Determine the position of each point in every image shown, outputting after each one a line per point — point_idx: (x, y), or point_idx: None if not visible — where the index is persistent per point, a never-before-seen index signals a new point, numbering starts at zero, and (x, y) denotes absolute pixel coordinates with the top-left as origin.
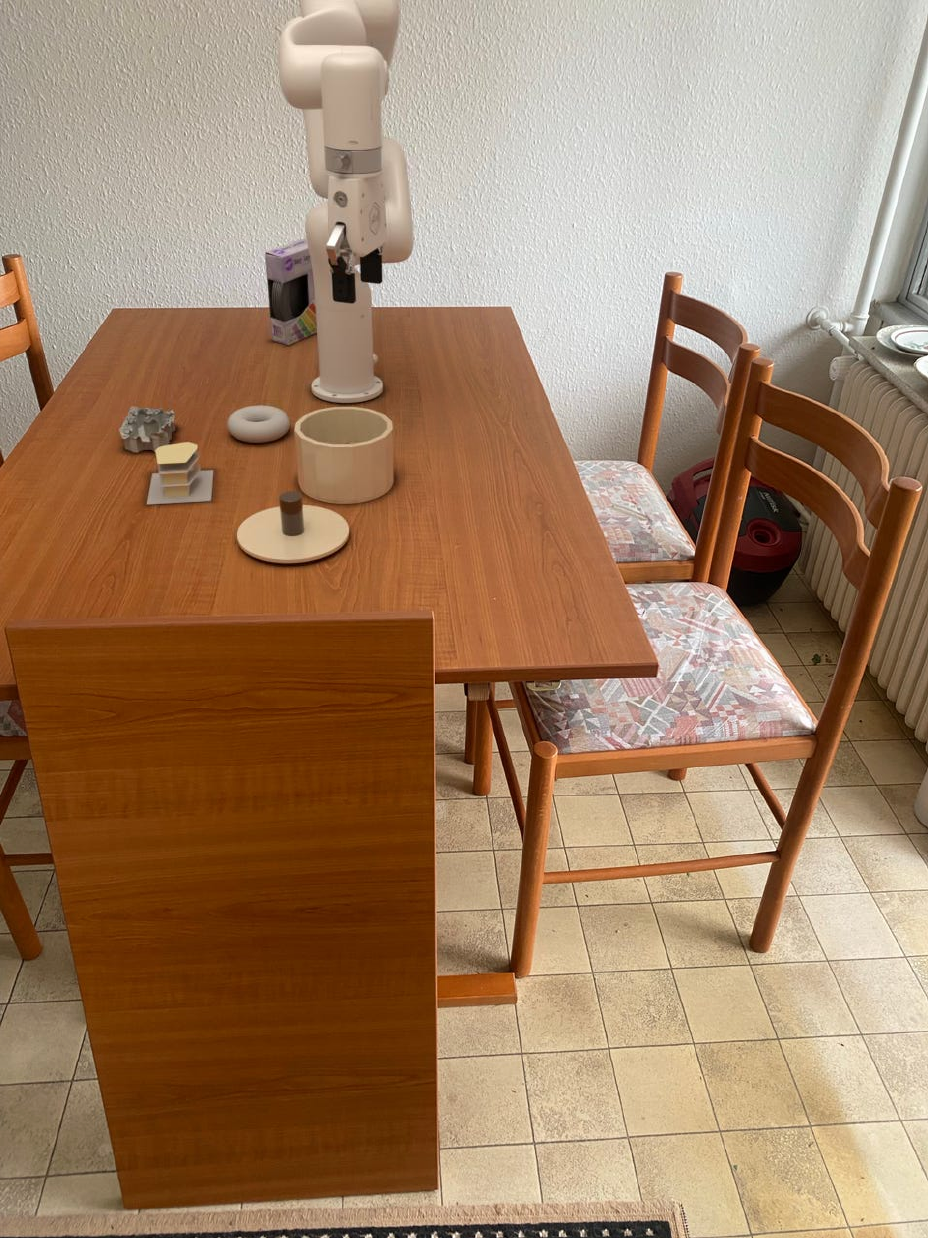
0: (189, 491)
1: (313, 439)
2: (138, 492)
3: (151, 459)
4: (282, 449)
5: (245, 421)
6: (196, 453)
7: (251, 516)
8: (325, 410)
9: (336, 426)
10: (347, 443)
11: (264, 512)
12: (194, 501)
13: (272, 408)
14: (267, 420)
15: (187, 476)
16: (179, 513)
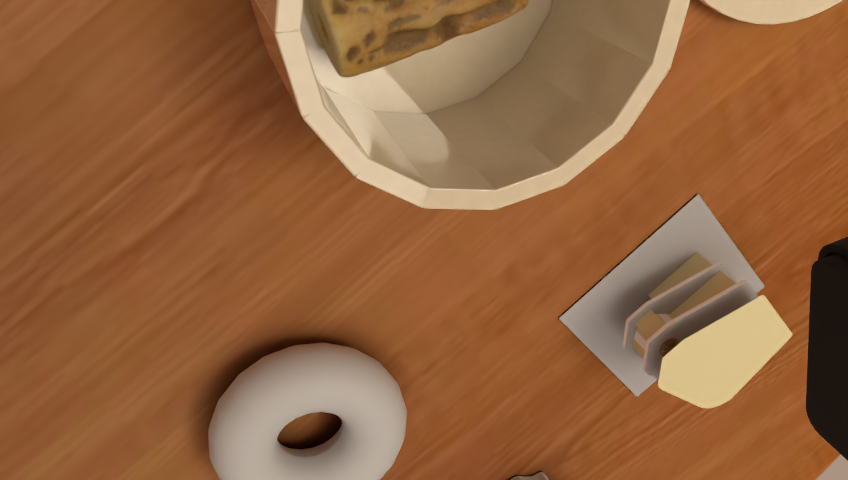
0: (678, 268)
1: (442, 149)
2: None
3: (578, 454)
4: (347, 290)
5: (380, 436)
6: (655, 343)
7: (777, 20)
8: (410, 180)
9: (354, 131)
10: (349, 55)
11: (747, 6)
12: (714, 220)
13: (249, 460)
14: (332, 403)
15: (701, 291)
16: (772, 201)
